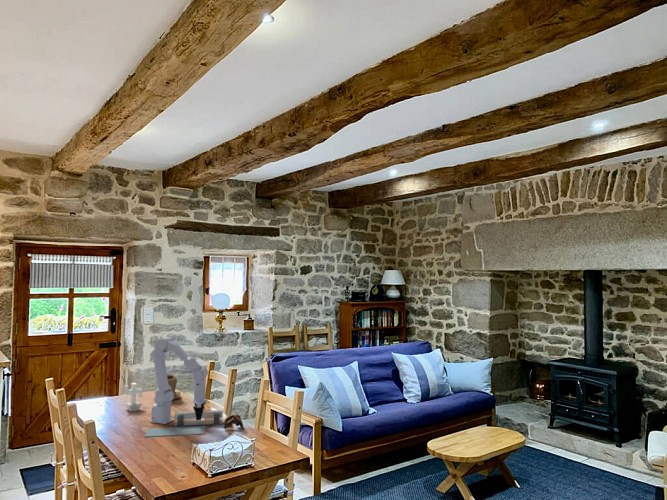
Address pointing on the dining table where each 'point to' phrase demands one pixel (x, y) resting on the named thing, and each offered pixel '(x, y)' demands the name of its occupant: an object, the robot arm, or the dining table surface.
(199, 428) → the slate mat
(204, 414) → the steel rail
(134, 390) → the figurine
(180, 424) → the hook standards
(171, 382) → the stone cup
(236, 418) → the brown arched figure
